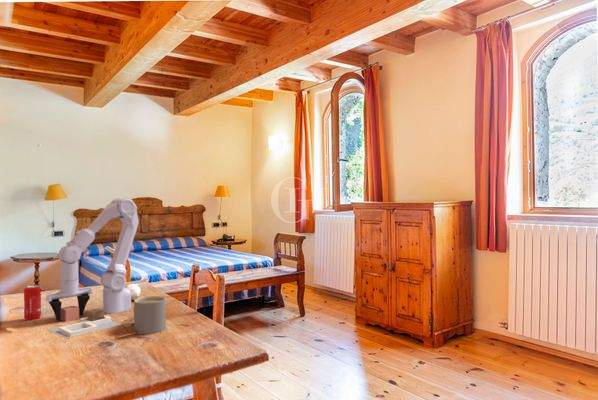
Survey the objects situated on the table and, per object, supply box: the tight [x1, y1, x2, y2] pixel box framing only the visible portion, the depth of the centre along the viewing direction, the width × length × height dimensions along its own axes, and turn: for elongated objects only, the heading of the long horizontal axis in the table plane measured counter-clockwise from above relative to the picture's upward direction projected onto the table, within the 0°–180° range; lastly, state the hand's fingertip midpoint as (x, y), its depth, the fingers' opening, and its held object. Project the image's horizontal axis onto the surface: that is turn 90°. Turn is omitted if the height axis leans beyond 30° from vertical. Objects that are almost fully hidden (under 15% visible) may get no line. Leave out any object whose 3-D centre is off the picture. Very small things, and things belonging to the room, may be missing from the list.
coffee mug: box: [133, 295, 167, 335], centre depth 141 cm, size 13×10×10 cm
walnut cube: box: [86, 307, 105, 322], centre depth 145 cm, size 4×4×4 cm
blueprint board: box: [47, 314, 122, 339], centre depth 139 cm, size 18×14×2 cm
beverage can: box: [23, 284, 42, 322], centre depth 152 cm, size 5×5×12 cm
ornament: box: [124, 281, 142, 302], centre depth 179 cm, size 7×7×8 cm
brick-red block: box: [60, 305, 80, 322], centre depth 149 cm, size 4×4×5 cm
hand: (69, 317), depth 149 cm, fingers open, 7 cm apart
